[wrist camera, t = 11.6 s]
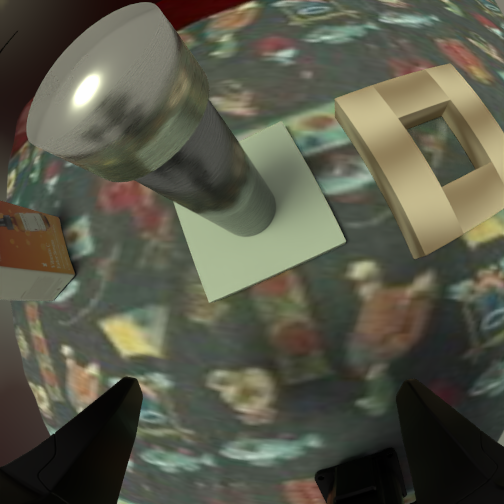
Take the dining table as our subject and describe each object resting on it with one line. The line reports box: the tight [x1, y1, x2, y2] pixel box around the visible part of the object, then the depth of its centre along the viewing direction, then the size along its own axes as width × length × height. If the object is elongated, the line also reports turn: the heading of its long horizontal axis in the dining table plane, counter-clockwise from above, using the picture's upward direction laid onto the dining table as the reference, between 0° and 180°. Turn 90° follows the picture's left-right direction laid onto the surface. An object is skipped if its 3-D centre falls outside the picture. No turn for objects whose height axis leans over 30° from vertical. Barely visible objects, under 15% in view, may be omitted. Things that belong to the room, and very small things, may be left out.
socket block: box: [335, 64, 504, 259], centre depth 16 cm, size 12×12×2 cm
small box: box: [0, 201, 75, 301], centre depth 21 cm, size 8×6×10 cm
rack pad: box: [174, 121, 346, 303], centre depth 20 cm, size 10×10×1 cm
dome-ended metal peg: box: [27, 2, 276, 237], centre depth 12 cm, size 5×5×15 cm
